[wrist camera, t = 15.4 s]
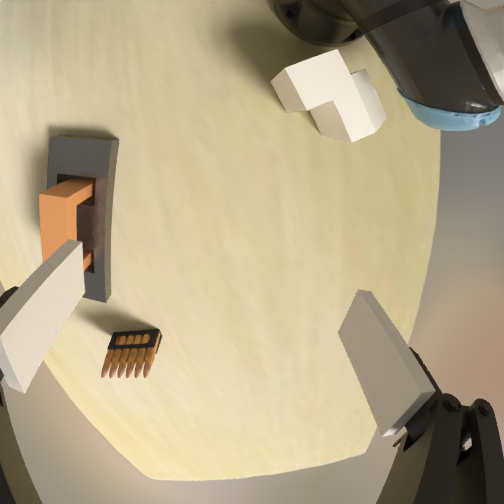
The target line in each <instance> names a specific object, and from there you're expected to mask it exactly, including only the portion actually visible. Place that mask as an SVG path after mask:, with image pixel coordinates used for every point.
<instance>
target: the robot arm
mask: <svg viewBox="0 0 504 504" xmlns="http://www.w3.org/2000/svg"><path fill="white" fill-rule="evenodd" d="M274 6H275V10H276V13H277V15H278V17H279V18H280V20H281V21H282V23H283V24H284V25H285V26H286V27H287V28H288V29H289V30H290V31H291V32H292V33H293V34H295V35H296V36H298V37H299V38H301V39H303V40H305V41H307V42H309V43H312V44H315V45H319V46H325V47H339V46H344V45H348V44H350V43H352V42H354V41H356V40H358V39H359V38H361V37H362V36H363V35H364V36H365V37H366V38H367V40H368V41H369V43H370V44H371V46H372V47H373V48H374V50H375V51H376V53H377V54H378V56H379V57H380V59H381V61H382V62H383V64H384V65H385V67H386V68H387V70H388V72H389V73H390V75H391V77H392V78H393V80H394V82H395V83H396V85H397V87H398V88H397V90H398V92H399V94H400V95H401V96H402V97H403V98H404V99H405V101H406V102H407V104H408V106H409V108H410V109H411V111H412V113H413V114H414V116H415V117H416V118H417V119H418V120H420V121H421V122H422V123H423V124H425V125H427V126H429V127H432V128H435V129H440V130H449V131H461V130H462V131H463V130H471V129H476V128H478V127H479V125H488V124H490V123H492V122H493V121H495V120H496V119H497V118H498V116H499V114H500V109H501V105H504V5H503V6H498V7H494V8H490V9H481V8H480V7H478V6H476V5H474V4H472V3H470V2H467V1H466V0H461V1H459V2H455V3H452V4H451V3H450V2H449V1H448V0H274ZM84 293H85V285H84V271H83V250H82V242H81V241H76V240H71V239H68V240H67V241H66V242H65V243H64V244H63V245H61V246H60V247H59V248H58V249H57V250H56V251H55V252H54V253H53V254H52V255H51V256H50V257H49V258H48V259H47V260H46V261H45V262H44V263H43V264H42V265H41V266H40V267H39V268H38V269H37V270H36V271H35V272H34V273H33V274H32V275H31V276H30V277H29V278H28V279H27V280H26V281H25V282H24V283H23V284H22V285H21V286H20V287H16V286H14V287H13V288H11V289H9V290H7V291H6V292H4V293H3V294H2V296H1V297H0V382H1V380H2V378H3V377H5V379H6V381H7V383H8V385H9V387H11V388H13V389H16V390H18V391H20V392H22V393H25V392H26V390H27V388H28V386H29V384H30V382H31V381H32V379H33V377H34V375H35V373H36V371H37V370H38V368H39V366H40V364H41V362H42V361H43V359H44V357H45V355H46V353H47V352H48V350H49V348H50V347H51V345H52V343H53V342H54V340H55V338H56V337H57V335H58V333H59V332H60V330H61V328H62V327H63V325H64V324H65V322H66V321H67V319H68V317H69V316H70V314H71V313H72V311H73V310H74V308H75V307H76V305H77V304H78V302H79V301H80V299H81V298H82V296H83V295H84ZM338 334H339V336H340V339H341V341H342V343H343V345H344V348H345V350H346V352H347V354H348V357H349V359H350V361H351V363H352V366H353V368H354V370H355V373H356V375H357V377H358V380H359V382H360V384H361V387H362V389H363V392H364V394H365V396H366V399H367V401H368V404H369V406H370V409H371V411H372V413H373V416H374V418H375V421H376V423H377V426H378V428H379V431H380V433H381V436H388V435H393V434H397V432H399V430H401V429H402V428H403V426H405V427H406V429H407V432H406V433H405V434H404V435H403V436H401V438H399V439H398V440H397V442H395V443H394V445H393V447H395V446H396V445H398V444H399V443H400V446H399V447H398V452H397V454H396V457H395V460H394V462H393V465H392V468H391V470H390V473H389V475H388V478H387V480H386V482H385V485H384V487H383V489H382V492H381V494H380V496H379V498H378V500H377V503H376V504H504V457H503V451H502V446H501V440H500V436H499V431H498V427H497V422H496V418H495V414H494V411H493V408H492V407H491V405H490V403H489V402H487V401H486V400H484V399H476V400H475V401H474V402H473V404H472V405H471V406H463V405H461V403H460V402H459V400H458V399H457V398H456V397H454V396H453V395H451V394H448V393H445V394H442V392H441V390H440V389H439V387H438V385H437V384H436V382H435V380H434V379H433V377H432V376H431V374H430V372H429V371H427V368H426V366H425V364H423V362H422V360H421V358H420V357H419V355H418V354H417V353H416V352H415V351H414V350H413V349H412V348H411V347H408V345H407V344H406V342H405V341H404V339H403V338H402V336H401V335H400V333H399V332H398V330H397V329H396V327H395V326H394V324H393V323H392V321H391V320H390V318H389V317H388V315H387V314H386V312H385V311H384V310H383V308H382V307H381V305H380V304H379V302H378V301H377V300H376V298H375V297H374V295H373V294H372V292H371V291H365V290H359V289H358V291H357V293H356V295H355V297H354V300H353V302H352V304H351V306H350V308H349V310H348V313H347V315H346V317H345V319H344V321H343V323H342V325H341V327H340V329H339V331H338ZM469 441H472V446H471V447H470V448H469V449H467V450H466V451H465V445H466V444H467V443H468V442H469ZM0 504H42V502H41V500H40V498H39V496H38V493H37V491H36V489H35V487H34V485H33V482H32V481H31V478H30V475H29V473H28V471H27V468H26V466H25V463H24V460H23V458H22V455H21V452H20V450H19V447H18V444H17V441H16V438H15V434H14V431H13V428H12V424H11V421H10V417H9V413H8V410H7V405H6V401H5V398H4V392H3V388H2V386H1V384H0Z"/></svg>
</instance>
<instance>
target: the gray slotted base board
mask: <svg viewBox="0 0 504 504" xmlns="http://www.w3.org/2000/svg"><path fill="white" fill-rule="evenodd" d="M118 146H119V140H117V139H107V138H95V137H82V136H67V135H58V136H53V137H50V144H49V157H48V177H47V190H48V189H50V188H52V187H54V186H56V185H58V184H60V183H62V182H64V181H65V178H66V174H67V175H75V176H83V177H91V178H96V188H95V200H92V199H86V200H84V201H83V202H81V203H80V204H78V205H77V212H76V228H77V241H81V242H82V248H86V249H91V250H94V264H92V263H90V264H89V266H88V267H87V268H86V269H85V271H84V285H85V293H84V295H83V296H82V297H84V298H88V299H92V300H96V301H100V302H104V303H106V302H107V300H108V299H109V297H110V295H111V222H112V204H113V191H114V180H115V170H116V161H117V153H118Z"/></svg>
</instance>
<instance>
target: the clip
mask: <svg viewBox="0 0 504 504" xmlns="http://www.w3.org/2000/svg"><path fill="white" fill-rule="evenodd" d="M95 188H96V181H93V180H85V179H77V178H70V179H68V180H66V181H64V182H62V183H60V184H58V185H56V186H54V187H52V188H50V189H48V190H46V191H44V192H42V193H40V194H39V213H40V232H41V245H42V256H43V263H44V262H45V261H46V260H47V259H48V258H49V257H50V256H51V255H52V254H53V253H54V252H55V251H56V250H57V249H58V248H59V247H60V246H61V245H63V244H64V243H65V242H66V241H67V240H68V239H71V240H76V241H77V228H76V212H77V205H78V204H80V203H81V202H83V201H84V200H86V199H87V198H89V197H90V196H92V195H93V194H95ZM82 250H83V271H85V269H86V268H87V267H88V266H89V264H90V263H91V262H92V261H93V259H94V250H91V249H86V248H82Z"/></svg>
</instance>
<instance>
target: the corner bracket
mask: <svg viewBox="0 0 504 504" xmlns="http://www.w3.org/2000/svg"><path fill="white" fill-rule="evenodd" d="M270 82H271V84H272V86H273V88H274V90H275V92H276V93H277V95H278V97H279V99H280V101H281V103H282V105H283V107H284V109H285V111H286V113H290V112H299V111H307V110H310V113H311V115H312V117H313V119H314V121H315V123H316V125H317V127H318V129H319V132H320V134H321V136H326V137H330V138H335V139H339V140H343V141H348V142H354V141H356V140H359V139H361V138H363V137H366V136H368V135H370V134H373V133H375V132H376V131H377V130H378V128H379V127H380V126H381V125H382V124H383V123H384V121H385V120H386V119H387V118H386V115H385V112H384V110H383V107H382V105H381V102H380V100H379V98H378V95H377V93H376V91H375V88H374V86H373V84H372V81H371V79H370V77H369V75H368V73H367V71H366V69H364V70H361V71H357V72H354V73H351V74H350V73H349V71H348V69H347V67H346V65H345V63H344V61H343V59H342V57H341V55H340V53H339V51H338V49H336V50H333V51H330V52H327V53H324V54H321V55H318V56H315V57H313V58H310V59H307V60H304V61H302V62H299V63H296V64H294V65H291V66H289V67H286V68H284V69H283V70H282V71H281V72H280V73H279V74H278V75H277V76H276V77H275V78H274V79H273V80H271V81H270Z"/></svg>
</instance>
